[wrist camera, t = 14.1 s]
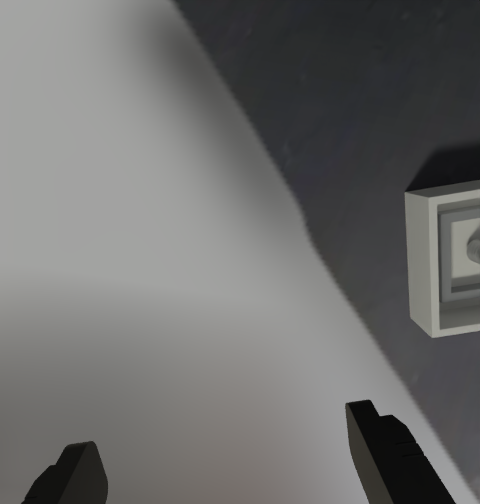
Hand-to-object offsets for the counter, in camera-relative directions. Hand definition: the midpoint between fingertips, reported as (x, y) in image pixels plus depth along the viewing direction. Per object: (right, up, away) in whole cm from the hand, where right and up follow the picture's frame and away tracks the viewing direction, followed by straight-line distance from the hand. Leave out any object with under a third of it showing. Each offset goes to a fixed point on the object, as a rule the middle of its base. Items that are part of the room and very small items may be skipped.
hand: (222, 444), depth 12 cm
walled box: (+27, +7, +30) cm, 41 cm away
